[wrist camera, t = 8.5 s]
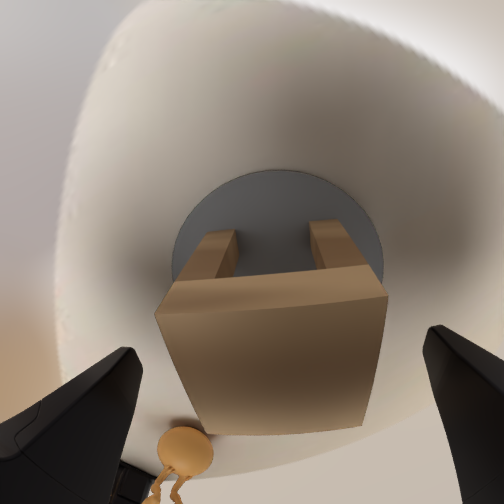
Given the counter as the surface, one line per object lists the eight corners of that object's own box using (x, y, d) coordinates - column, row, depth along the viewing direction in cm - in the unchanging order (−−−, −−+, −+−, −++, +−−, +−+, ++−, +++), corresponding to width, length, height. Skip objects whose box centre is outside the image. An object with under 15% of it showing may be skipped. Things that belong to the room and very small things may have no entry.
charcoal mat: (287, 379, 14) (287, 384, 14) (142, 287, 13) (139, 292, 12) (416, 264, 11) (420, 268, 11) (260, 122, 10) (259, 121, 9)
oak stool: (337, 325, 12) (361, 425, 7) (228, 333, 13) (206, 433, 8) (337, 218, 10) (388, 295, 5) (206, 231, 11) (154, 313, 6)
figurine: (248, 446, 18) (232, 582, 7) (200, 459, 20) (176, 570, 9) (160, 393, 16) (102, 554, 5) (121, 414, 18) (71, 534, 7)
